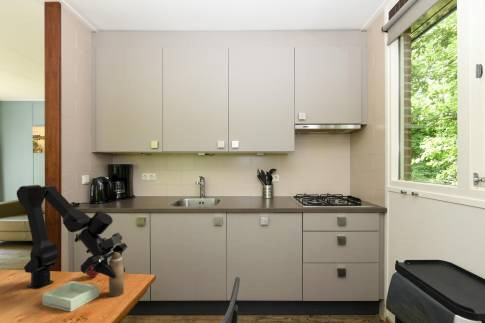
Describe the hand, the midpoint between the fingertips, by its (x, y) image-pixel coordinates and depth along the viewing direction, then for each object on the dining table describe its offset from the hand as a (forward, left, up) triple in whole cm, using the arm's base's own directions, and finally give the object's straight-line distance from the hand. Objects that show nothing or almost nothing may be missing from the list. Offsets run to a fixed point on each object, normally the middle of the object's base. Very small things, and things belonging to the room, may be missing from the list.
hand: (119, 274), depth 101 cm
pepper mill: (-1, 0, -7) cm, 7 cm away
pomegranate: (-21, +8, -7) cm, 24 cm away
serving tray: (-12, -9, -7) cm, 17 cm away
